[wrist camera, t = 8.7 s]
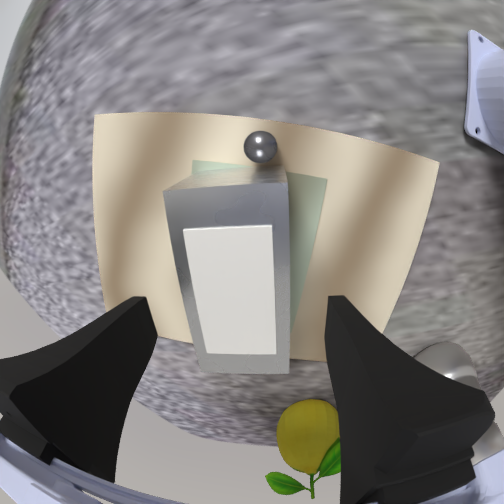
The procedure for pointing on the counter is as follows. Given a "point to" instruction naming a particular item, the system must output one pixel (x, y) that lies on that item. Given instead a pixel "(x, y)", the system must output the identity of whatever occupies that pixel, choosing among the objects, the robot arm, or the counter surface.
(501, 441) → the plastic bottle
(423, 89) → the counter surface
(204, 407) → the counter surface
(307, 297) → the pin tray
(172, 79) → the counter surface
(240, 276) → the block
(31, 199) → the counter surface
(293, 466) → the lemon
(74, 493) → the robot arm
